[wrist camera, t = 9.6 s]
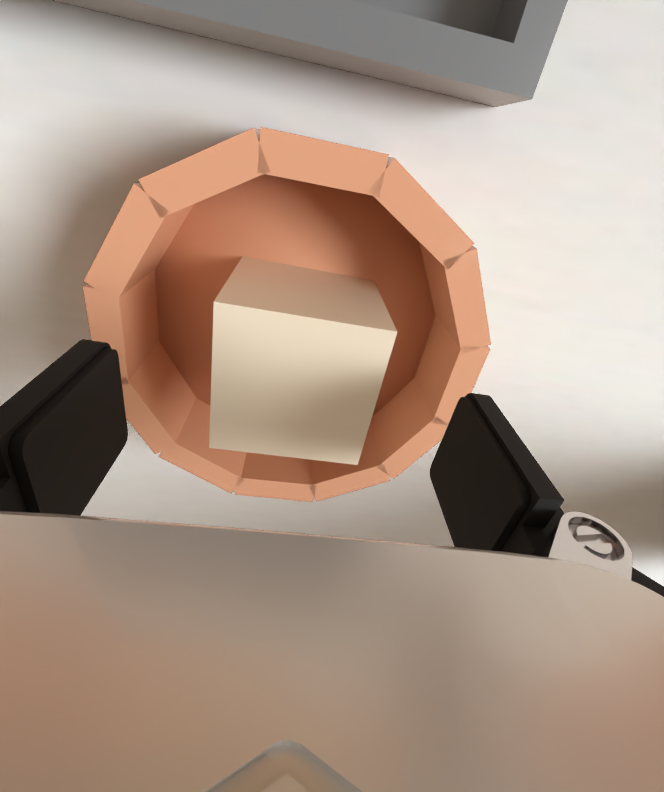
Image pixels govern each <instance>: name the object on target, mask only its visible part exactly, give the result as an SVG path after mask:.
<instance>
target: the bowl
mask: <svg viewBox="0 0 664 792" xmlns="http://www.w3.org/2000/svg"><path fill="white" fill-rule="evenodd" d="M388 156H389V154H384V153H379V152H375V151H370V150H366V149H361V148H356V147H352V146H347V145H342V144H338V143H333V142H328V141H324V140H319V139H314V138H310V137H305V136H300V135H296V134H291V133H287V132H282V131H277V130H273V129H268V128H263V127H260V130H259V129H256V128H251V129H249V130H247V131H245V132H243V133H240V134H238V135H236V136H234V137H231V138H229V139H227V140H225V141H223V142H220V143H218V144H216V145H214V146H211V147H209V148H207V149H205V150H202V151H200V152H198V153H196V154H194V155H191V156H189V157H187V158H185V159H182V160H180V161H178V162H176V163H174V164H171V165H169V166H167V167H165V168H162V169H160V170H158V171H156V172H154V173H151V174H149V175H147V176H145V177H142V178H140V179H138V180H139V182H140V183H135V184H133V186H132V188H131V190H130V192H129V194H128V196H127V198H126V200H125V202H124V204H123V205H122V207H121V209H120V211H119V213H118V215H117V217H116V219H115V221H114V223H113V225H112V227H111V229H110V231H109V233H108V235H107V236H106V238H105V240H104V242H103V244H102V246H101V248H100V250H99V252H98V254H97V256H96V258H95V260H94V262H93V264H92V266H91V268H90V269H89V271H88V273H87V275H86V277H85V279H84V282H86V283H87V284H86V285H84V286H83V291H84V297H85V304H86V310H87V316H88V322H89V329H90V335H91V340H92V341H99V342H106V343H108V344H110V346H111V349H115V350H117V352H118V356H119V364H120V372H121V381H122V389H123V397H124V405H125V413H126V419H127V420H128V421H129V422H130V424H131V425H132V426H133V427H134V429H135V430H136V431H137V432H138V433H139V435H140V436H141V437H142V438H143V440H144V441H145V442H146V443H147V445H148V446H149V447H150V448H151V450H152V451H153V452H154V453H155V454H156V453H159V452H161V453H160V455H159V457H160V458H162V459H164V460H166V461H168V462H170V463H172V464H174V465H176V466H178V467H180V468H182V469H184V470H186V471H188V472H190V473H192V474H194V475H196V476H198V477H200V478H202V479H204V480H206V481H208V482H210V483H212V484H214V485H216V486H218V487H220V488H222V489H223V490H225V491H227V492H229V493H232V492H233V491H234V490H235V489H236V494H235V495H245V496H255V497H266V498H277V499H288V500H298V501H309V502H313V499H314V497H315V499H316V501H320V500H324V499H327V498H331V497H334V496H338V495H341V494H345V493H348V492H352V491H355V490H359V489H362V488H366V487H369V486H373V485H376V484H380V483H384V482H387V481H390V477H392V478H395V477H397V476H398V475H399V474H400V473H402V472H403V471H404V470H405V469H406V468H408V467H409V466H410V465H411V464H413V463H414V462H415V461H416V460H417V459H419V458H420V457H421V456H422V455H424V454H425V453H426V452H427V451H428V450H430V449H431V448H432V447H433V446H435V445H436V444H437V443H438V442H439V441H441V440H442V438H443V436H444V434H445V431H446V429H447V427H448V424H449V422H450V419H451V417H452V415H453V412H454V410H455V407H456V405H457V403H458V401H459V399H460V398H461V397H465V396H466V395H467V394H468V393H471V392H472V390H473V388H474V385H475V383H476V381H477V378H478V376H479V374H480V372H481V369H482V367H483V365H484V362H485V360H486V358H487V355H488V353H489V351H490V348H489V347H488V345H491V342H490V335H489V328H488V321H487V315H486V308H485V301H484V295H483V288H482V281H481V275H480V268H479V261H478V255H477V248H475V247H473V246H472V245H473V244H474V243H473V242H472V240H471V239H470V238H469V237H468V236H467V235H466V234H465V233H464V232H463V231H462V230H461V229H460V228H459V226H458V225H457V224H456V223H455V222H454V221H453V220H452V219H451V218H450V217H449V216H448V215H447V214H446V213H445V211H444V210H443V209H442V208H441V207H440V206H439V205H438V204H437V203H436V202H435V201H434V200H433V199H432V197H431V196H430V195H429V194H428V193H427V192H426V191H425V190H424V189H423V188H422V187H421V186H420V185H419V184H418V182H417V181H416V180H415V179H414V178H413V177H412V176H411V175H410V174H409V173H408V172H407V171H406V170H405V168H404V167H403V166H402V165H401V164H400V163H399V162H398V161H397V160H396V159H395V158H391V157H388ZM242 256H243V257H249V258H254V259H260V260H265V261H271V262H276V263H282V264H287V265H293V266H298V267H304V268H309V269H315V270H320V271H326V272H331V273H337V274H342V275H347V276H353V277H358V278H364V279H369V280H374V282H375V284H376V286H377V288H378V291H379V293H380V295H381V297H382V299H383V302H384V304H385V306H386V308H387V310H388V312H389V315H390V317H391V319H392V321H393V323H394V325H395V328H396V330H397V335H396V338H395V342H394V345H393V348H392V352H391V355H390V359H389V362H388V365H387V369H386V372H385V375H384V379H383V382H382V385H381V389H380V392H379V395H378V399H377V402H376V405H375V409H374V412H373V415H372V419H371V422H370V425H369V429H368V432H367V435H366V439H365V442H364V445H363V449H362V452H361V455H360V459H359V462H358V465H353V464H345V463H336V462H327V461H319V460H310V459H301V458H293V457H284V456H275V455H267V454H258V453H249V452H241V451H232V450H223V449H215V448H209V436H210V404H211V371H212V339H213V307H214V300H215V299H216V297H217V296H218V294H219V292H220V291H221V289H222V288H223V286H224V285H225V283H226V281H227V280H228V278H229V277H230V275H231V274H232V272H233V271H234V269H235V267H236V266H237V264H238V263H239V261H240V260H241V258H242ZM389 476H390V477H389Z"/></svg>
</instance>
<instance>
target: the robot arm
mask: <svg viewBox="0 0 664 792" xmlns="http://www.w3.org/2000/svg"><path fill="white" fill-rule="evenodd" d="M127 436H128V430H127V422H126V413H125V405H124V397H123V389H122V381H121V372H120V364H119V356H118V352H117V350H115V349H111V346H110V344H108V343H106V342H99V341H92V340H84V339H83V340H81V341H79V342H78V343H77V344H75V345H74V346H73V347H72V348H71V349H69V350H68V351H67V352H66V353H65V354H63V355H62V356H61V357H60V358H58V359H57V360H56V361H55V362H54V363H52V364H51V365H50V366H49V367H48V368H46V369H45V370H44V371H43V372H42V373H40V374H39V375H38V376H37V377H35V378H34V379H33V380H32V381H31V382H29V383H28V384H27V385H26V386H25V387H23V388H22V389H21V390H20V391H18V392H17V393H16V394H15V395H14V396H12V397H11V398H10V399H9V400H8V401H6V402H5V403H4V404H3V405H1V406H0V792H664V587H663V586H662V585H660V584H658V583H657V582H655V581H654V580H652V579H650V578H649V577H647V576H645V575H644V574H642V573H641V572H639V571H637V570H636V569H634V568H633V567H632V563H633V557H632V551H631V549H630V547H629V546H628V544H627V542H626V541H625V540H624V539H623V538H622V536H621V535H620V534H619V533H618V532H617V531H615V530H614V529H613V528H612V527H611V526H609V525H608V524H606V523H605V522H603V521H601V520H600V519H598V518H596V517H594V516H591V515H589V514H586V513H582V512H573V511H570V512H567V513H565V514H564V512H563V511H562V510H561V508H560V506H561V504H562V503H563V501H564V499H563V498H562V497H561V495H560V494H559V492H558V491H557V490H556V488H555V487H554V485H553V484H552V483H551V481H550V480H549V478H548V477H547V475H546V474H545V473H544V471H543V470H542V468H541V467H540V466H539V464H538V463H537V461H536V460H535V459H534V457H533V456H532V454H531V453H530V451H529V450H528V449H527V447H526V446H525V444H524V443H523V442H522V440H521V439H520V437H519V436H518V435H517V433H516V432H515V430H514V429H513V428H512V426H511V425H510V423H509V422H508V420H507V419H506V418H505V416H504V415H503V413H502V412H501V411H500V409H499V408H498V406H497V405H496V404H495V402H494V401H493V399H492V398H491V397H490V396H488V395H481V394H474V393H468V394H467V395H466V396H465V397H461V398H460V399H459V401H458V403H457V405H456V407H455V410H454V412H453V415H452V417H451V419H450V422H449V424H448V427H447V429H446V431H445V434H444V436H443V438H442V441H441V443H440V446H439V448H438V450H437V453H436V455H435V458H434V460H433V462H432V465H431V468H430V478H431V481H432V484H433V486H434V489H435V492H436V495H437V498H438V501H439V503H440V506H441V509H442V512H443V515H444V518H445V521H446V523H447V526H448V529H449V532H450V535H451V538H452V540H453V543H454V546H455V547H448V546H437V545H426V544H415V543H404V542H392V541H381V540H370V539H359V538H348V537H336V536H324V535H313V534H301V533H289V532H277V531H266V530H254V529H242V528H230V527H217V526H205V525H192V524H180V523H167V522H154V521H142V520H129V519H117V518H104V517H91V516H80V515H81V513H82V512H83V510H84V509H85V507H86V506H87V504H88V502H89V501H90V499H91V498H92V496H93V495H94V493H95V491H96V490H97V488H98V487H99V485H100V484H101V482H102V480H103V479H104V477H105V476H106V474H107V473H108V471H109V469H110V468H111V466H112V465H113V463H114V462H115V460H116V458H117V457H118V455H119V454H120V452H121V451H122V449H123V447H124V446H125V444H126V441H127Z"/></svg>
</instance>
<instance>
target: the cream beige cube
mask: <svg viewBox="0 0 664 792" xmlns="http://www.w3.org/2000/svg"><path fill="white" fill-rule="evenodd" d="M396 335H397V330H396V328H395V325H394V323H393V321H392V319H391V317H390V315H389V312H388V310H387V308H386V306H385V304H384V302H383V299H382V297H381V295H380V293H379V291H378V288H377V286H376V284H375V282H374V280H369V279H364V278H358V277H353V276H347V275H342V274H337V273H331V272H326V271H320V270H315V269H309V268H304V267H298V266H293V265H287V264H282V263H276V262H271V261H265V260H260V259H254V258H249V257H243V256H242V258H241V260H240V261H239V263H238V264H237V266H236V267H235V269H234V271H233V272H232V274H231V275H230V277H229V278H228V280H227V281H226V283H225V285H224V286H223V288H222V289H221V291H220V292H219V294H218V296H217V297H216V299H215V300H214V307H213V339H212V371H211V404H210V436H209V448H215V449H223V450H232V451H241V452H249V453H258V454H267V455H275V456H284V457H293V458H301V459H310V460H319V461H327V462H336V463H345V464H353V465H358V462H359V459H360V455H361V452H362V449H363V445H364V442H365V439H366V435H367V432H368V429H369V425H370V422H371V419H372V415H373V412H374V409H375V405H376V402H377V399H378V395H379V392H380V389H381V385H382V382H383V379H384V375H385V372H386V369H387V365H388V362H389V359H390V355H391V352H392V348H393V345H394V342H395V338H396Z"/></svg>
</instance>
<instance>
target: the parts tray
mask: <svg viewBox="0 0 664 792" xmlns="http://www.w3.org/2000/svg"><path fill="white" fill-rule="evenodd" d="M54 1H58V2H62V3H67V4H71V5H75V6H79V7H83V8H87V9H91V10H96V11H100V12H104V13H108V14H112V15H116V16H121V17H125V18H129V19H133V20H137V21H141V22H145V23H150V24H154V25H158V26H162V27H166V28H170V29H175V30H179V31H183V32H187V33H191V34H195V35H200V36H204V37H208V38H212V39H216V40H220V41H224V42H229V43H233V44H237V45H241V46H245V47H249V48H254V49H258V50H262V51H266V52H270V53H274V54H278V55H283V56H287V57H291V58H295V59H299V60H303V61H308V62H312V63H316V64H320V65H324V66H328V67H333V68H337V69H341V70H345V71H349V72H353V73H357V74H362V75H366V76H370V77H374V78H378V79H382V80H387V81H391V82H395V83H399V84H403V85H407V86H411V87H416V88H420V89H424V90H428V91H432V92H436V93H441V94H445V95H449V96H453V97H457V98H461V99H466V100H470V101H474V102H478V103H482V104H486V105H490V106H495V107H498V106H503V105H507V104H512V103H516V102H521V101H525V100H530V99H532V98H533V95H534V92H535V89H536V86H537V84H538V81H539V78H540V75H541V73H542V70H543V67H544V64H545V62H546V59H547V56H548V53H549V50H550V48H551V45H552V42H553V39H554V37H555V34H556V31H557V28H558V26H559V23H560V20H561V17H562V14H563V12H564V9H565V6H566V3H567V1H568V0H54Z"/></svg>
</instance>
